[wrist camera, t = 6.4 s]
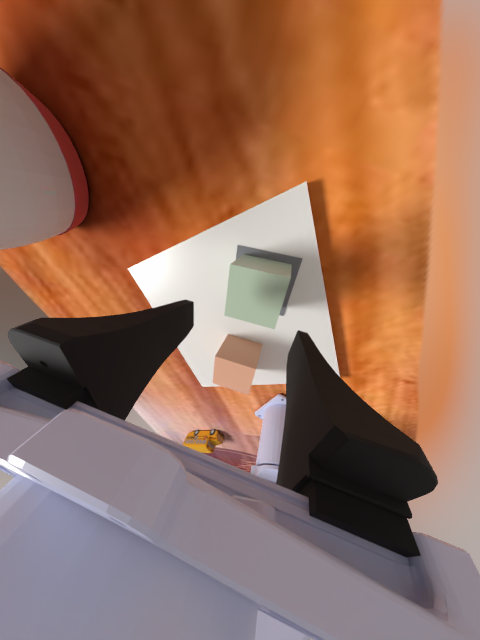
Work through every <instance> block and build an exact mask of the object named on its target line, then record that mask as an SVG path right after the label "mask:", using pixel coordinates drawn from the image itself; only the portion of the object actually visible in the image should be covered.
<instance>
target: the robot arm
mask: <svg viewBox="0 0 480 640" xmlns="http://www.w3.org/2000/svg"><path fill="white" fill-rule="evenodd" d="M193 326H194V302H193V301H189V300H181V301H177V302H173V303H170V304H166V305H162V306H159V307H155V308H151V309H147V310H143V311H138V312H133V313H127V314H120V315H111V316H102V317H86V318H39V319H36V320H33V321H31V322H28V323H25V324H23V325H20V326H18V327H15V328H12V329H11V330H10V331H9V332H8V338H9V340H10V342H11V344H12V345H13V347H14V348H15V350H16V351H17V352H18V353H19V355H20V356H21V357H22V359H23V360H24V361H25V363H26V364H27V365H28V367H27V368H25V369H23V370H21V371H20V370H19V369H17V368H16V367H14V366H12V365H10V364H7V363H5V362H2V361H0V470H2V471H4V472H6V473H7V474H9V475H11V476H13V477H14V478H13V479H12V480H11V481H10V482H9V483H8V484H7V485H6V486H4V487H3V488H2V489H1V490H0V640H310V639H311V638H312V639H314V640H480V574H479V572H478V571H477V568H476V566H475V565H474V563H473V561H472V559H471V557H470V555H469V554H468V553H467V552H466V551H465V550H463V549H460V548H458V547H456V546H453V545H451V544H448V543H446V542H443V541H441V540H438V539H436V538H434V537H431V536H428V535H425V534H422V533H416V532H412V531H411V528H410V525H409V523H408V520H407V518H408V519H410V518H412V513H411V511H410V508H409V505H408V503H407V501H410V500H413V499H415V498H418V497H421V496H423V495H426V494H428V493H430V492H431V491H433V490H434V489H435V487H436V485H437V484H438V480H437V476H436V474H435V472H434V471H433V469H432V467H431V465H430V463H429V461H428V460H427V458H426V456H425V454H424V452H423V451H422V449H421V447H420V446H419V444H417V443H416V442H415V441H413V440H412V439H411V438H409V437H408V436H407V435H405V434H404V433H403V432H401V431H400V430H399V429H397V428H396V427H395V426H393V425H392V424H391V423H389V422H388V421H387V420H386V419H384V418H383V417H382V416H381V415H380V414H378V413H377V412H376V411H375V410H374V409H372V408H371V407H370V406H369V405H368V404H367V403H366V402H364V401H363V400H362V399H361V398H360V397H359V396H358V395H357V394H356V393H355V392H354V391H353V390H352V389H351V388H350V387H349V386H348V385H347V384H346V383H345V382H344V381H343V380H342V379H341V378H340V377H339V376H338V374H337V373H336V372H335V371H334V370H333V369H332V367H331V366H330V365H329V363H328V362H327V361H326V360H325V358H324V357H323V355H322V354H321V353H320V351H319V350H318V348H317V347H316V345H315V343H314V342H313V340H312V339H311V337H310V336H309V334H308V333H306V332H303V331H299V330H298V331H297V333H296V336H295V338H294V341H293V343H292V345H291V348H290V350H289V353H288V358H287V365H286V397H285V396H283V395H281V394H278V395H277V396H275V397H274V398H273V399H271V400H270V401H269V402H267V403H266V404H265V405H263V406H262V407H261V408H259V409H258V410H257V411H256V412H255V415H256V416H258V417H259V418H261V419H262V420H263V423H262V429H261V436H260V442H259V448H258V455H257V461H256V466H255V465H252V468H251V473H248V472H246V471H244V470H241V469H239V468H237V467H234V466H232V465H229V464H227V463H225V462H222V461H220V460H217V459H215V458H213V457H210V456H208V455H205V454H203V453H201V452H198V451H196V450H193V449H191V448H189V447H186V446H184V445H182V444H179V443H177V442H174V441H172V440H170V439H167V438H165V437H162V436H160V435H158V434H155V433H153V432H150V431H148V430H146V429H143V428H141V427H138V426H136V425H134V424H131V423H129V422H127V421H125V419H126V417H127V416H128V414H129V412H130V411H131V409H132V407H133V406H134V404H135V402H136V401H137V399H138V398H139V396H140V395H141V393H142V392H143V390H144V388H145V387H146V386H147V384H148V383H149V381H150V380H151V378H152V377H153V375H154V374H155V373H156V371H157V370H158V369H159V367H160V366H161V365H162V363H163V362H164V361H165V360H166V359H167V357H168V356H169V355H170V354H171V353H172V352H173V351H174V350H175V349H176V348H177V347H178V346H179V344H180V343H181V342H182V341H183V340H184V339H185V338H186V337H187V335H188V334H189V332H190V331H191V329H192V328H193Z"/></svg>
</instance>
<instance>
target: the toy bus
mask: <svg viewBox="0 0 480 640" xmlns="http://www.w3.org/2000/svg"><path fill="white" fill-rule="evenodd" d="M223 441H224V436H223V435H222V434H221V433H220V432H219V431H217V430H215V429H212V430H211V431H200V430H196V431H194V432H190V433H188V435H187V437H186V439H185V441H184V443H183V445H184V446H186V447H189V448H191V449H193V450H196V451H198V452H201V453H213V451H214V449H215V446H216V445H219V444H221V443H223Z"/></svg>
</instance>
